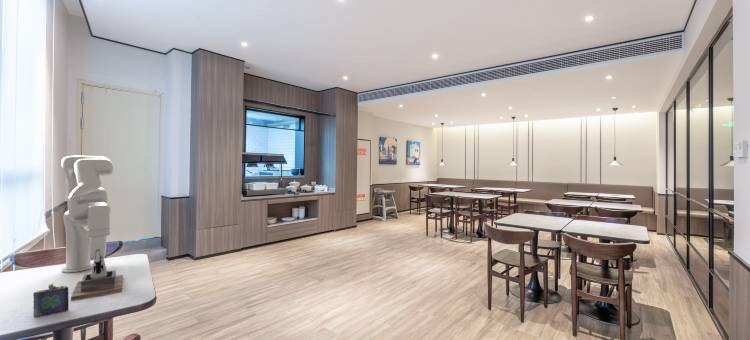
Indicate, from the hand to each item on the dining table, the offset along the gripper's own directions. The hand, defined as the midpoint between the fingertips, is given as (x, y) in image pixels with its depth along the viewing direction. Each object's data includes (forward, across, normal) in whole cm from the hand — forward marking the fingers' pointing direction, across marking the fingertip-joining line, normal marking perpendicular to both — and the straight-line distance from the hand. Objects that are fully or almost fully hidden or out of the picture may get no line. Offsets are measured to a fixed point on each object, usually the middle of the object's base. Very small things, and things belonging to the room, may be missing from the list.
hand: (99, 273), depth 145 cm
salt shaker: (+3, 0, 0) cm, 3 cm away
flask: (+7, +22, -12) cm, 26 cm away
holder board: (+6, 0, 0) cm, 7 cm away
